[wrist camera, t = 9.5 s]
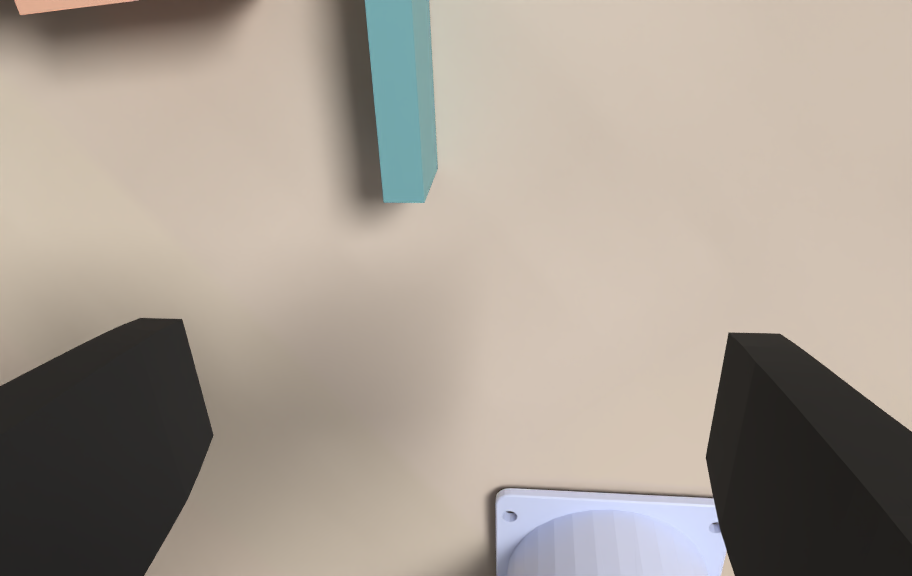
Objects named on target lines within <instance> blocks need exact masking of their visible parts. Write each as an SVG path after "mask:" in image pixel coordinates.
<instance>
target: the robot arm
mask: <svg viewBox="0 0 912 576" xmlns="http://www.w3.org/2000/svg"><path fill="white" fill-rule="evenodd" d="M212 438H213V432H212V428H211V424H210V421H209V417H208V413H207V410H206V406H205V402H204V398H203V395H202V391H201V387H200V384H199V380H198V376H197V373H196V369H195V365H194V361H193V358H192V354H191V350H190V347H189V343H188V339H187V335H186V332H185V328H184V324H183V321H182V319H155V318H139V319H137V320H134V321H132V322H129V323H127V324H124V325H122V326H119V327H117V328H115V329H113V330H110V331H108V332H106V333H104V334H102V335H100V336H98V337H96V338H94V339H92V340H90V341H88V342H86V343H84V344H82V345H80V346H78V347H76V348H74V349H72V350H70V351H68V352H66V353H64V354H62V355H60V356H58V357H56V358H54V359H52V360H50V361H48V362H46V363H44V364H42V365H40V366H39V367H37V368H35V369H33V370H31V371H29V372H27V373H25V374H23V375H21V376H19V377H17V378H15V379H13V380H11V381H9V382H7V383H6V384H4V385H2V386H0V576H144V575H145V573H146V571H147V570H148V568H149V566H150V564H151V563H152V561H153V559H154V558H155V556H156V554H157V552H158V551H159V549H160V547H161V545H162V544H163V542H164V540H165V538H166V537H167V535H168V533H169V531H170V530H171V528H172V526H173V524H174V523H175V521H176V519H177V517H178V516H179V514H180V512H181V510H182V508H183V507H184V505H185V503H186V501H187V499H188V497H189V495H190V492H191V490H192V488H193V485H194V483H195V481H196V478H197V476H198V474H199V471H200V469H201V466H202V464H203V461H204V458H205V456H206V453H207V451H208V448H209V446H210V443H211V440H212ZM706 461H707V466H708V472H709V477H710V482H711V488H712V493H713V498H696V497H676V496H656V495H636V494H616V493H596V492H576V491H556V490H536V489H516V488H507V489H503V490H501V491H499V492H498V493H497V496H496V504H495V506H496V576H721V573H722V568H723V564H724V559H725V555H726V550H727V553H728V556H729V559H730V562H731V565H732V568H733V571H734V574H735V576H912V432H911V431H910V430H909V429H907V428H906V427H905V426H903V425H902V424H901V423H899V422H898V421H896V420H895V419H894V418H892V417H891V416H890V415H888V414H887V413H886V412H884V411H883V410H882V409H880V408H879V407H878V406H876V405H875V404H874V403H872V402H871V401H870V400H868V399H867V398H866V397H864V396H863V395H862V394H861V393H859V392H858V391H857V390H855V389H854V388H853V387H851V386H850V385H849V384H847V383H846V382H845V381H844V380H842V379H841V378H840V377H838V376H837V375H836V374H834V373H833V372H832V371H830V370H829V369H828V368H827V367H825V366H824V365H823V364H821V363H820V362H819V361H817V360H816V359H815V358H813V357H812V356H811V355H809V354H808V353H807V352H805V351H804V350H803V349H801V348H800V347H799V346H797V345H796V344H794V343H793V342H792V341H790V340H788V339H787V338H785V337H784V336H782V335H781V334H767V333H729V334H728V339H727V345H726V350H725V356H724V361H723V366H722V372H721V377H720V383H719V388H718V393H717V399H716V404H715V410H714V415H713V421H712V426H711V431H710V437H709V442H708V448H707V453H706ZM506 511H512V512H514V513H507V512H506ZM715 522H719V523H717V524H712V523H715Z"/></svg>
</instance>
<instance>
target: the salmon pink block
mask: <svg viewBox="0 0 912 576" xmlns="http://www.w3.org/2000/svg"><path fill="white" fill-rule="evenodd" d="M14 1H15V3H16V6H17V8H18V11H19V13H20V15H25V14H33V13H41V12H49V11H57V10H65V9H73V8H81V7H89V6H97V5H105V4H113V3H121V2H129V1H137V0H14Z"/></svg>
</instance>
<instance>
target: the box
mask: <svg viewBox="0 0 912 576" xmlns="http://www.w3.org/2000/svg"><path fill="white" fill-rule="evenodd" d="M365 9H366V19H367V30H368V41H369V51H370V62H371V72H372V83H373V94H374V104H375V115H376V126H377V136H378V147H379V158H380V168H381V179H382V190H383V200H384V203H425V200H426V197H427V195H428V192H429V190H430V187H431V184H432V182H433V179H434V177H435V174H436V172H437V169H438V165H437V146H436V126H435V107H434V88H433V69H432V49H431V30H430V11H429V0H365Z"/></svg>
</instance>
